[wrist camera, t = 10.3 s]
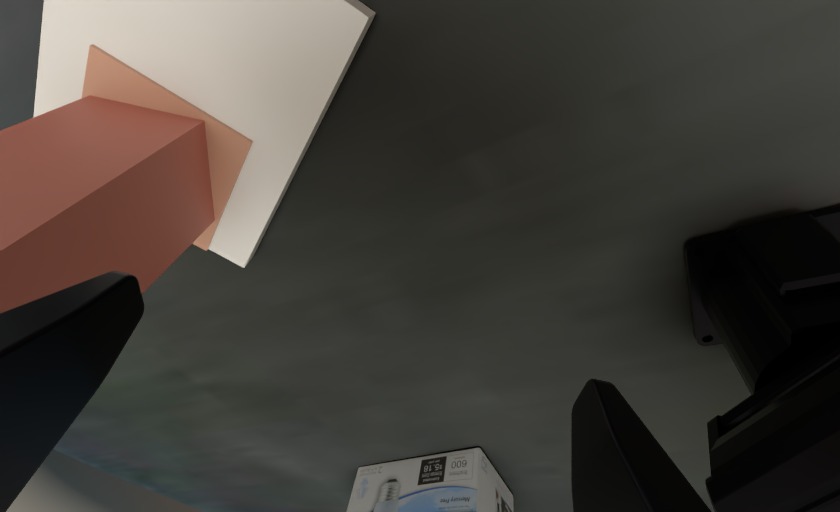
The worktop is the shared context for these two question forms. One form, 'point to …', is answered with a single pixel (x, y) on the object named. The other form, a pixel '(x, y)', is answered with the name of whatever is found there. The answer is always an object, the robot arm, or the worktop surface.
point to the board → (212, 84)
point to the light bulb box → (432, 485)
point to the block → (98, 196)
